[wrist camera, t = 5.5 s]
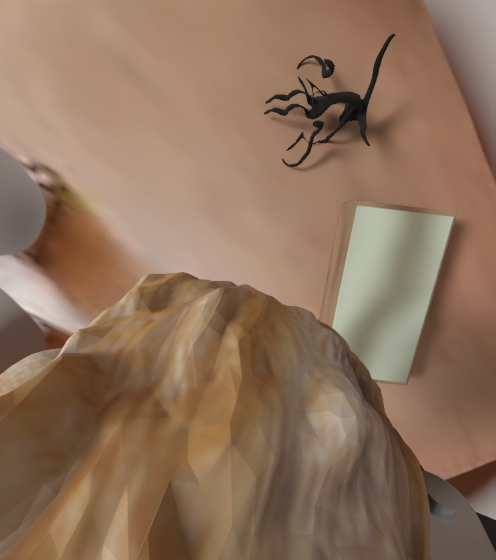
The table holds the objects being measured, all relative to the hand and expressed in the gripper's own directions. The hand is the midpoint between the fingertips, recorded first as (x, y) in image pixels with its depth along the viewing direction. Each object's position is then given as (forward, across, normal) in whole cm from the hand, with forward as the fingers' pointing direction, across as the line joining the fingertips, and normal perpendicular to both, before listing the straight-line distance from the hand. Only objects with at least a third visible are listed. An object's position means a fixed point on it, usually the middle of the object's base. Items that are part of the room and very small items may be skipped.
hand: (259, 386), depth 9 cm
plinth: (+13, -10, -1) cm, 17 cm away
